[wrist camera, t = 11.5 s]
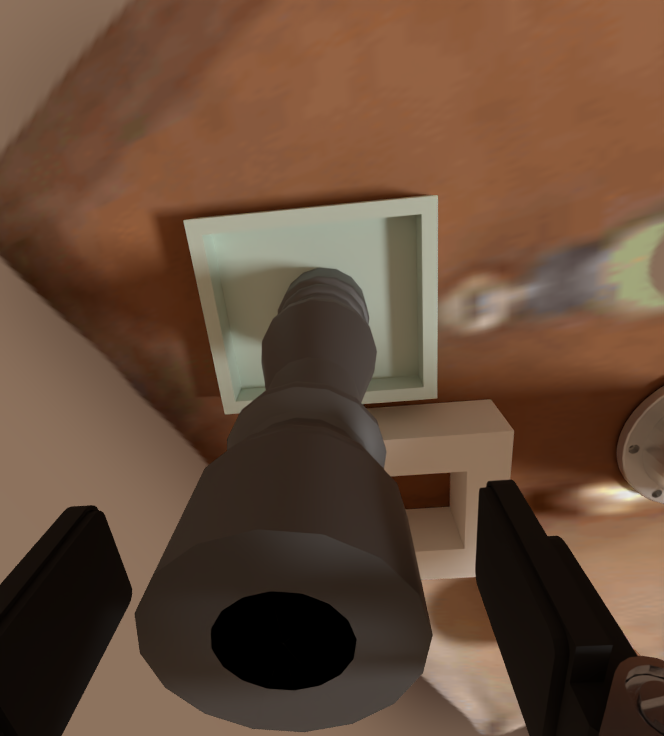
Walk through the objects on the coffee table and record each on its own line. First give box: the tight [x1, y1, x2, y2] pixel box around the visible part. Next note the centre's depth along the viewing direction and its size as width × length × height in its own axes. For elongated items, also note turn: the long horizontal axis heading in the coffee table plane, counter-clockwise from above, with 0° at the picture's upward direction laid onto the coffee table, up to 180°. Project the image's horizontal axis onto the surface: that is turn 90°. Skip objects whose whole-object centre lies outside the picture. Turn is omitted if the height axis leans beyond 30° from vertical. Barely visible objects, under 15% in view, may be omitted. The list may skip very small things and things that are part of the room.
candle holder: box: [135, 268, 433, 732], centre depth 20 cm, size 6×6×25 cm
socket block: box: [366, 399, 514, 580], centre depth 35 cm, size 14×14×5 cm
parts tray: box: [183, 195, 438, 414], centre depth 31 cm, size 16×14×3 cm
